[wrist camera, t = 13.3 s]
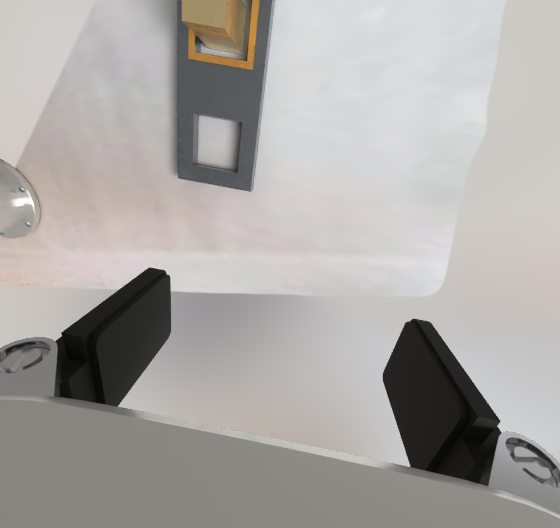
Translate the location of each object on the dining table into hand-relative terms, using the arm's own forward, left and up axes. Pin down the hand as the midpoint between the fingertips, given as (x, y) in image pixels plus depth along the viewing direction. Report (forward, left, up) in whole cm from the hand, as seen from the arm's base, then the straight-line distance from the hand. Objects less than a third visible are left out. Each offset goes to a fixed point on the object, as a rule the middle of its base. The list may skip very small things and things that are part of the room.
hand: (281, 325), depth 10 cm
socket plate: (-6, +15, -28) cm, 33 cm away
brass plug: (-4, +20, -28) cm, 35 cm away
